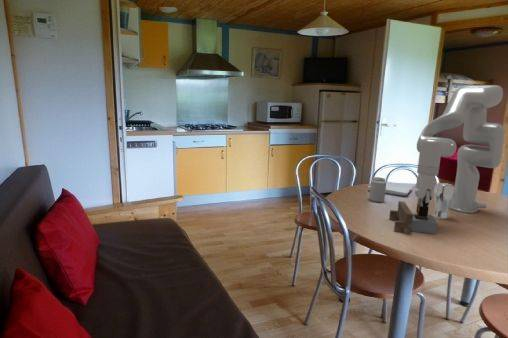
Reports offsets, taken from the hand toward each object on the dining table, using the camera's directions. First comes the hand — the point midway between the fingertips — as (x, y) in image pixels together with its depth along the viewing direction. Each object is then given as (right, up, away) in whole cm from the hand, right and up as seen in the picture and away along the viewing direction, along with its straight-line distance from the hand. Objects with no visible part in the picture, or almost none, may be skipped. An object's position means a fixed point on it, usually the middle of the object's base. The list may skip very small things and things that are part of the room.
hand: (421, 214), depth 139 cm
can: (-5, +2, +39) cm, 39 cm away
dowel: (0, -3, +1) cm, 3 cm away
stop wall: (-8, -5, +3) cm, 10 cm away
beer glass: (+17, -4, +16) cm, 24 cm away
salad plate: (+11, +5, +60) cm, 61 cm away
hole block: (0, -6, +1) cm, 6 cm away
